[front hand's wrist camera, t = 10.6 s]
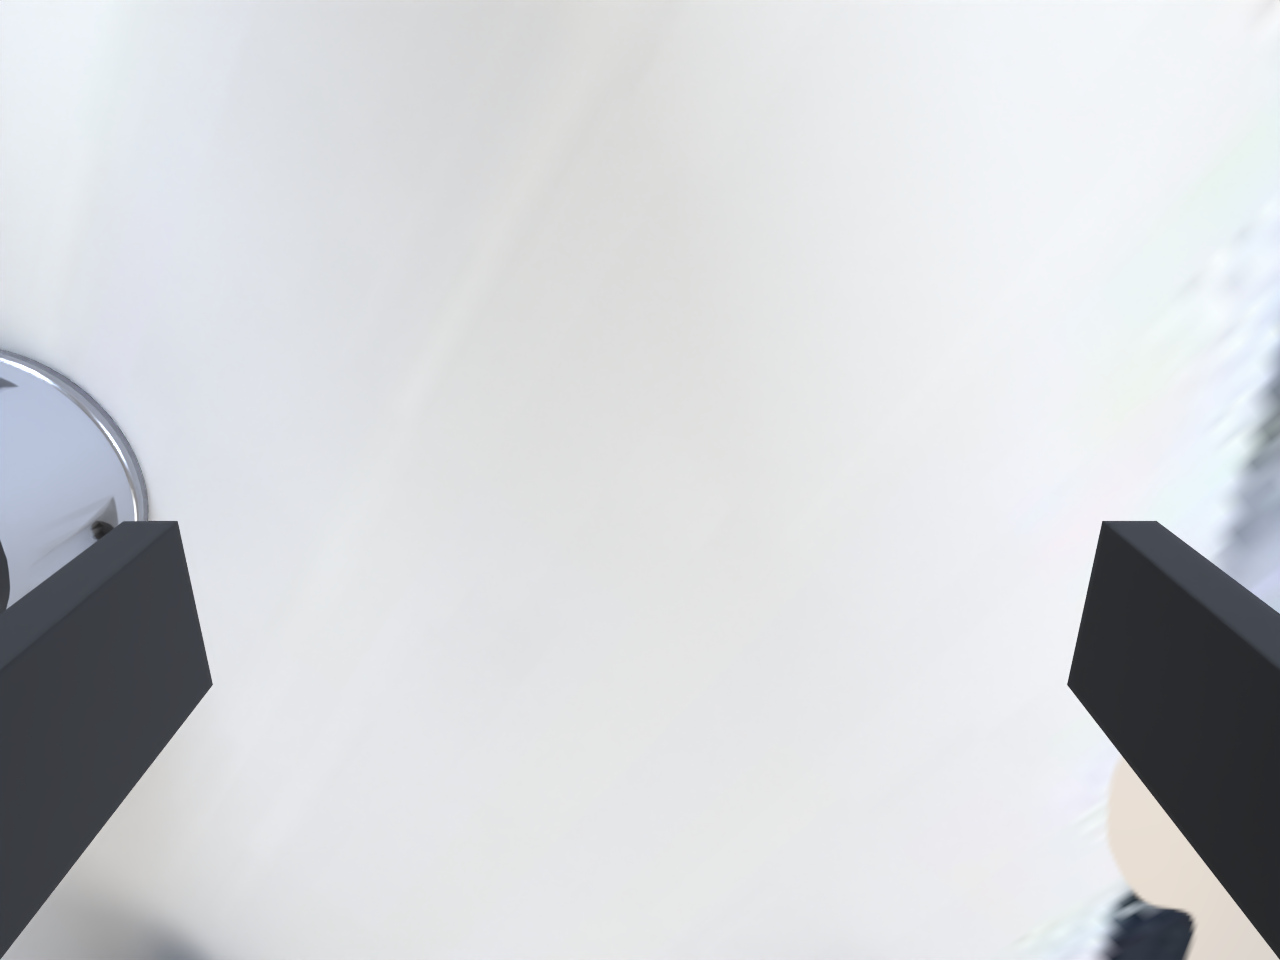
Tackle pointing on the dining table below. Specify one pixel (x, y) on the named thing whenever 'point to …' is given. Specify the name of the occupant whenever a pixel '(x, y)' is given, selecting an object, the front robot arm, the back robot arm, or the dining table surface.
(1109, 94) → the dining table surface
